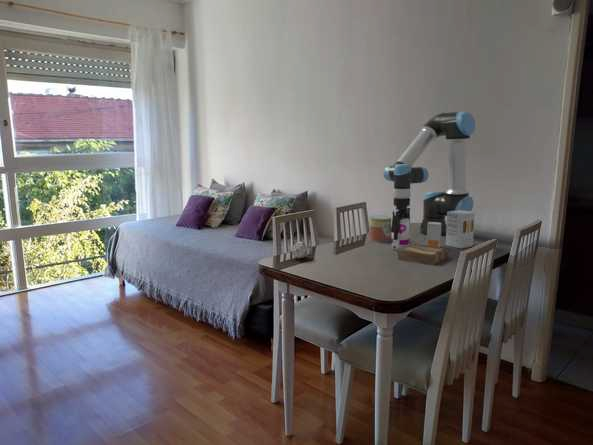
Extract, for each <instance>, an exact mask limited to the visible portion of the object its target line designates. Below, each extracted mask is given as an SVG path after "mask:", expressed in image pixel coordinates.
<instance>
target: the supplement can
mask: <svg viewBox="0 0 593 445" xmlns="http://www.w3.org/2000/svg"><path fill="white" fill-rule="evenodd" d="M399 233H400V239H399V247H396V246H393V238H394V233H392V232H391V248H392V250H393V251H397V252H398V251H400V250H402V249H404V248H407V247H409V246H410V242H411V238H410V237H411V219H410V220H409V218H403V219H402V220H400V229H399Z"/></svg>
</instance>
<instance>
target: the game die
mask: <svg viewBox="0 0 593 445" xmlns="http://www.w3.org/2000/svg"><path fill="white" fill-rule="evenodd" d="M292 243H293V245H292V246H291V247H292V248H291V251H290V252H289V254H292V255H293V256H294V257H295V258H297V260H298V261H300V259H302V258H305V259H307V255H309V254H308V251H309V249H310V248H311V246H307V245H306V243H305V242H303V241H302V239H300V241H298V242H295V241H292Z"/></svg>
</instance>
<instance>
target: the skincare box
mask: <svg viewBox="0 0 593 445" xmlns="http://www.w3.org/2000/svg"><path fill="white" fill-rule="evenodd" d="M441 225H442V223H438V222H429V223H428V224H427V235H426V244H425V245H426V246H433V247H440V248H441V239H442V235H441Z"/></svg>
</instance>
